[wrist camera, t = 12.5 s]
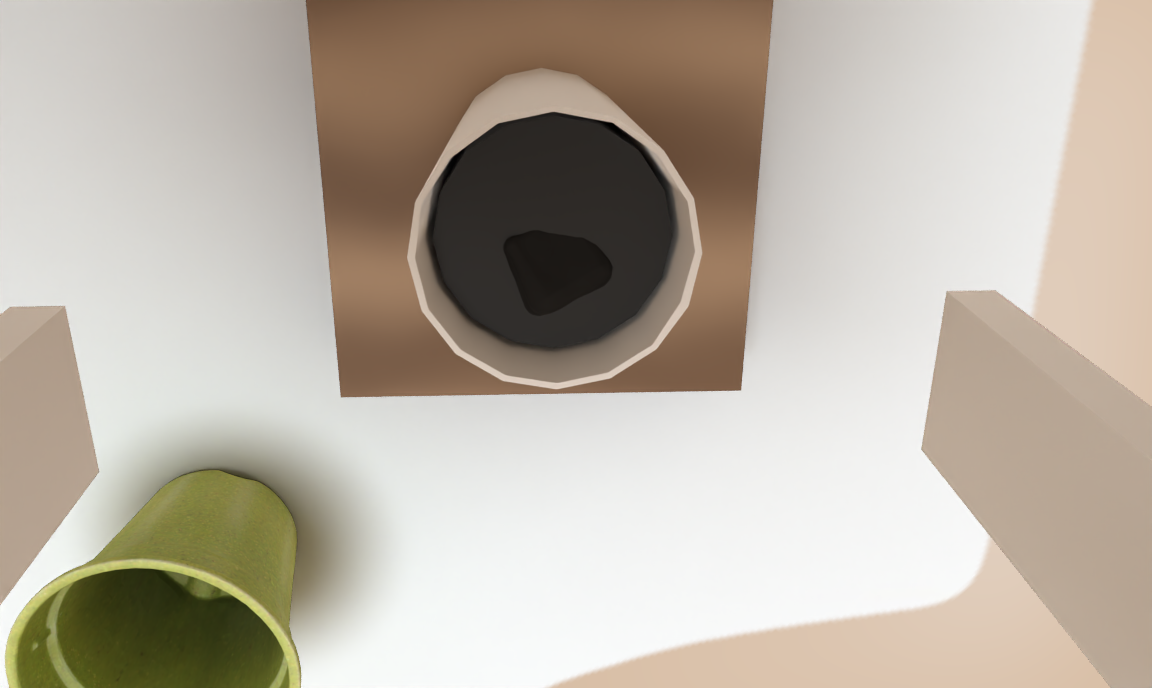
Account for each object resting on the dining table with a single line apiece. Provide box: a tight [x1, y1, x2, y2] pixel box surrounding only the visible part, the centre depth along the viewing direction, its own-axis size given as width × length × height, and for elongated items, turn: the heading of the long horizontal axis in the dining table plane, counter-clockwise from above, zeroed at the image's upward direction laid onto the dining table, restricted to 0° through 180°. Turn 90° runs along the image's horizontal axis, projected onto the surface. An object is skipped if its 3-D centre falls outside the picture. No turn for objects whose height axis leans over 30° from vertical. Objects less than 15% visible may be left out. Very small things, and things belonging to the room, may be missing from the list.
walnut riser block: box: [306, 0, 773, 397], centre depth 34 cm, size 16×14×4 cm
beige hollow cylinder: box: [407, 68, 702, 389], centre depth 27 cm, size 7×7×10 cm
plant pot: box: [5, 470, 301, 688], centre depth 37 cm, size 9×9×9 cm
